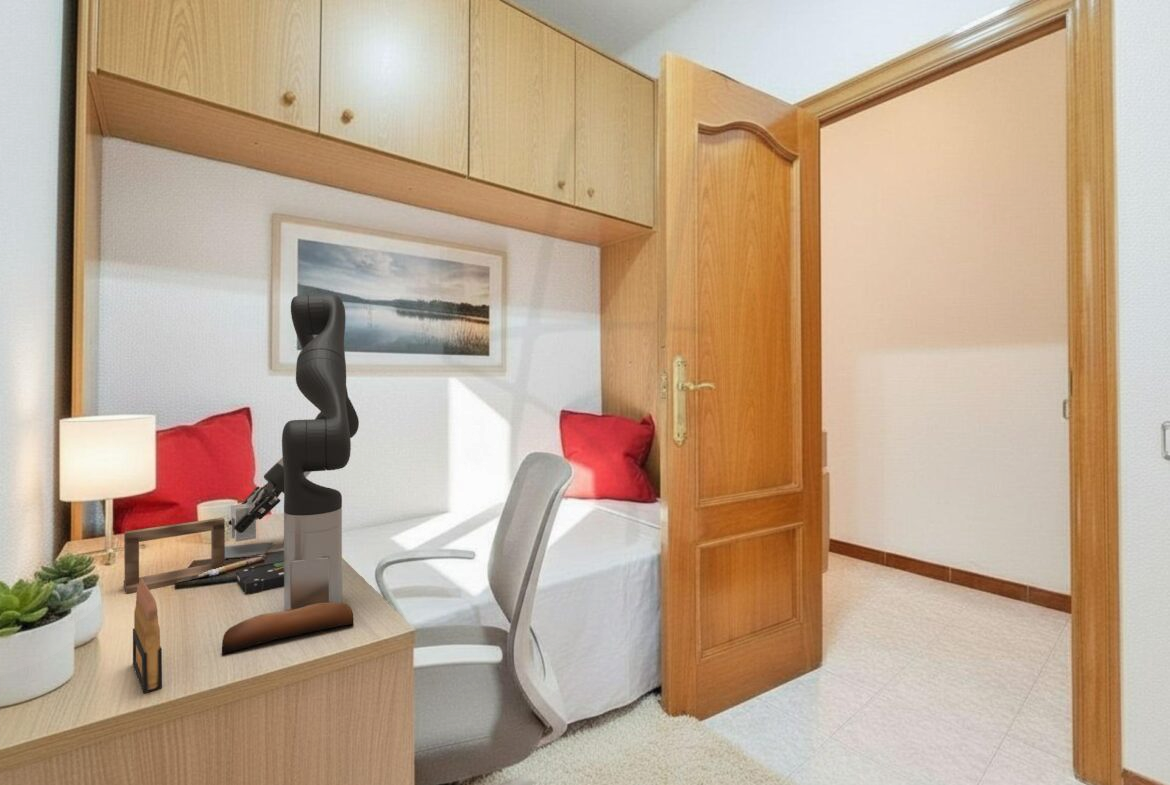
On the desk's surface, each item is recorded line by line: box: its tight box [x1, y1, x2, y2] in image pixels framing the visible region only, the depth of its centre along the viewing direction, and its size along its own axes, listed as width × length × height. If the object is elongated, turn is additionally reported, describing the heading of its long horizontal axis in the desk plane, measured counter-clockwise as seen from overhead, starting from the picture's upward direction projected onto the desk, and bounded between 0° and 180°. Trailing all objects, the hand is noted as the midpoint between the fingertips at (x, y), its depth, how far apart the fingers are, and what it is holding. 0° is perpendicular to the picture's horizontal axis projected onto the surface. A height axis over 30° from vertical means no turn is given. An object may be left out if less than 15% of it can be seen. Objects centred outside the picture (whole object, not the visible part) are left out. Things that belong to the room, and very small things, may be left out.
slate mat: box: [225, 542, 273, 559], centre depth 126 cm, size 10×10×1 cm
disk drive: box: [235, 560, 284, 596], centre depth 109 cm, size 10×3×15 cm
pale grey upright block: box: [230, 503, 257, 543], centre depth 126 cm, size 4×5×8 cm
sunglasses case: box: [221, 602, 355, 655], centre depth 85 cm, size 18×7×7 cm
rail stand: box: [123, 517, 226, 595], centre depth 108 cm, size 16×6×11 cm, turn 135°
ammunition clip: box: [132, 579, 163, 694], centre depth 72 cm, size 11×2×12 cm, turn 46°
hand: (234, 528), depth 125 cm, fingers closed on pale grey upright block, 5 cm apart
